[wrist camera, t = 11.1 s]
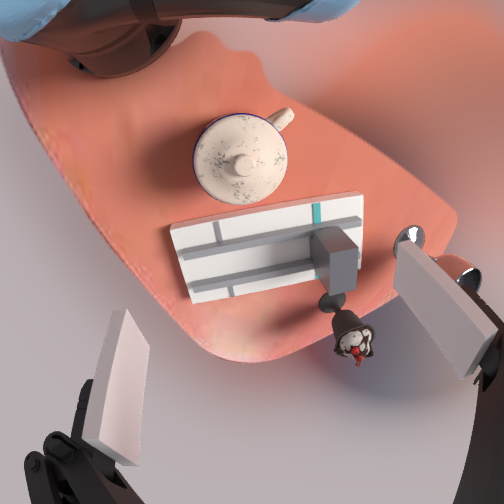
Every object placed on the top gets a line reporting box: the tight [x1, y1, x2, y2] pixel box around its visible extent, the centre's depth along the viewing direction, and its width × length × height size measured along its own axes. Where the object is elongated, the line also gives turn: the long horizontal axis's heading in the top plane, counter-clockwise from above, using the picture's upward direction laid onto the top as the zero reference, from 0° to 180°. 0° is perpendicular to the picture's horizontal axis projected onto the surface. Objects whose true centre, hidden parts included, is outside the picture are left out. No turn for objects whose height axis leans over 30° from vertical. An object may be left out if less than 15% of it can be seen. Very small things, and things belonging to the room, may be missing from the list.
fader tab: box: [309, 226, 359, 296], centre depth 36 cm, size 6×4×8 cm, turn 8°
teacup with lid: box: [193, 108, 294, 205], centre depth 29 cm, size 12×9×12 cm
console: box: [170, 191, 363, 304], centre depth 40 cm, size 12×26×4 cm, turn 98°
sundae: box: [319, 293, 376, 367], centre depth 41 cm, size 7×7×15 cm
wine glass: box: [394, 225, 482, 293], centre depth 38 cm, size 8×8×15 cm
